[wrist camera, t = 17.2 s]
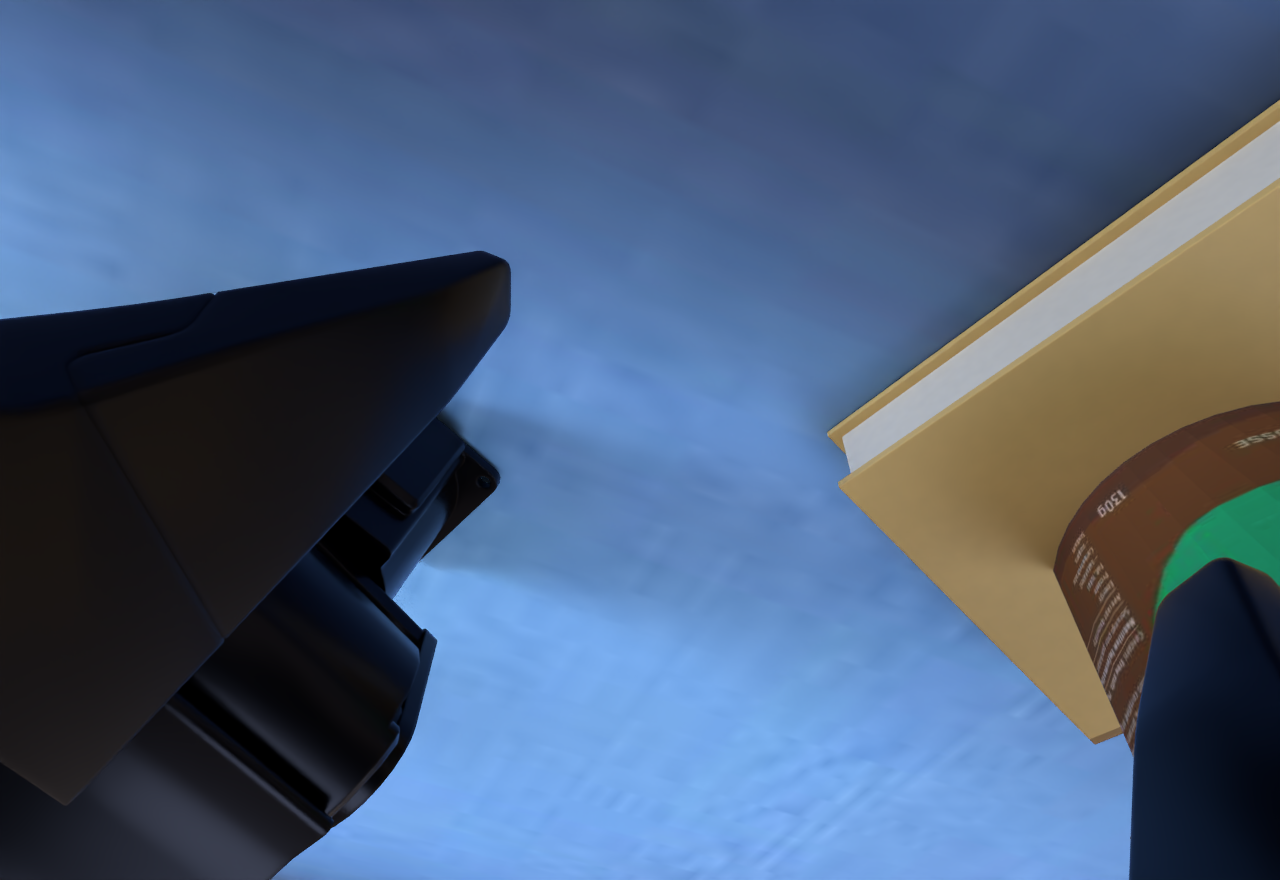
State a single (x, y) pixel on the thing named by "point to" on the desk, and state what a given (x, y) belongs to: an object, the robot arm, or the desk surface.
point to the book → (1076, 402)
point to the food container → (1168, 536)
